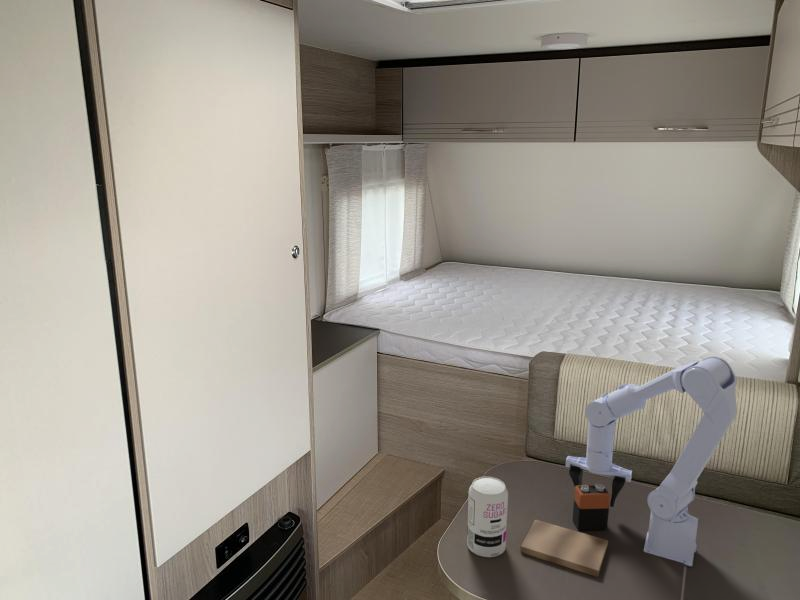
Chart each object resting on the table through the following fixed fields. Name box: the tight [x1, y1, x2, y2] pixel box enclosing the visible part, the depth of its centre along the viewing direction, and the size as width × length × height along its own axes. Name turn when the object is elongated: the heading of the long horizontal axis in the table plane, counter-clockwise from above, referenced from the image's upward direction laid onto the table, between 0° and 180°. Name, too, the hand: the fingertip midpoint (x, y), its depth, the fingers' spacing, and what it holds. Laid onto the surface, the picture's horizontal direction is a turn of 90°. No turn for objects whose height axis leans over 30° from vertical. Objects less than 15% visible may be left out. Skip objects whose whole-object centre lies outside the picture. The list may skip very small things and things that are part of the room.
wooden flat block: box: [520, 519, 609, 578], centre depth 127 cm, size 16×11×2 cm
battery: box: [572, 483, 611, 531], centre depth 134 cm, size 4×7×10 cm, turn 93°
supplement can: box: [466, 476, 509, 558], centre depth 126 cm, size 8×8×15 cm
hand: (595, 500), depth 139 cm, fingers open, 7 cm apart
